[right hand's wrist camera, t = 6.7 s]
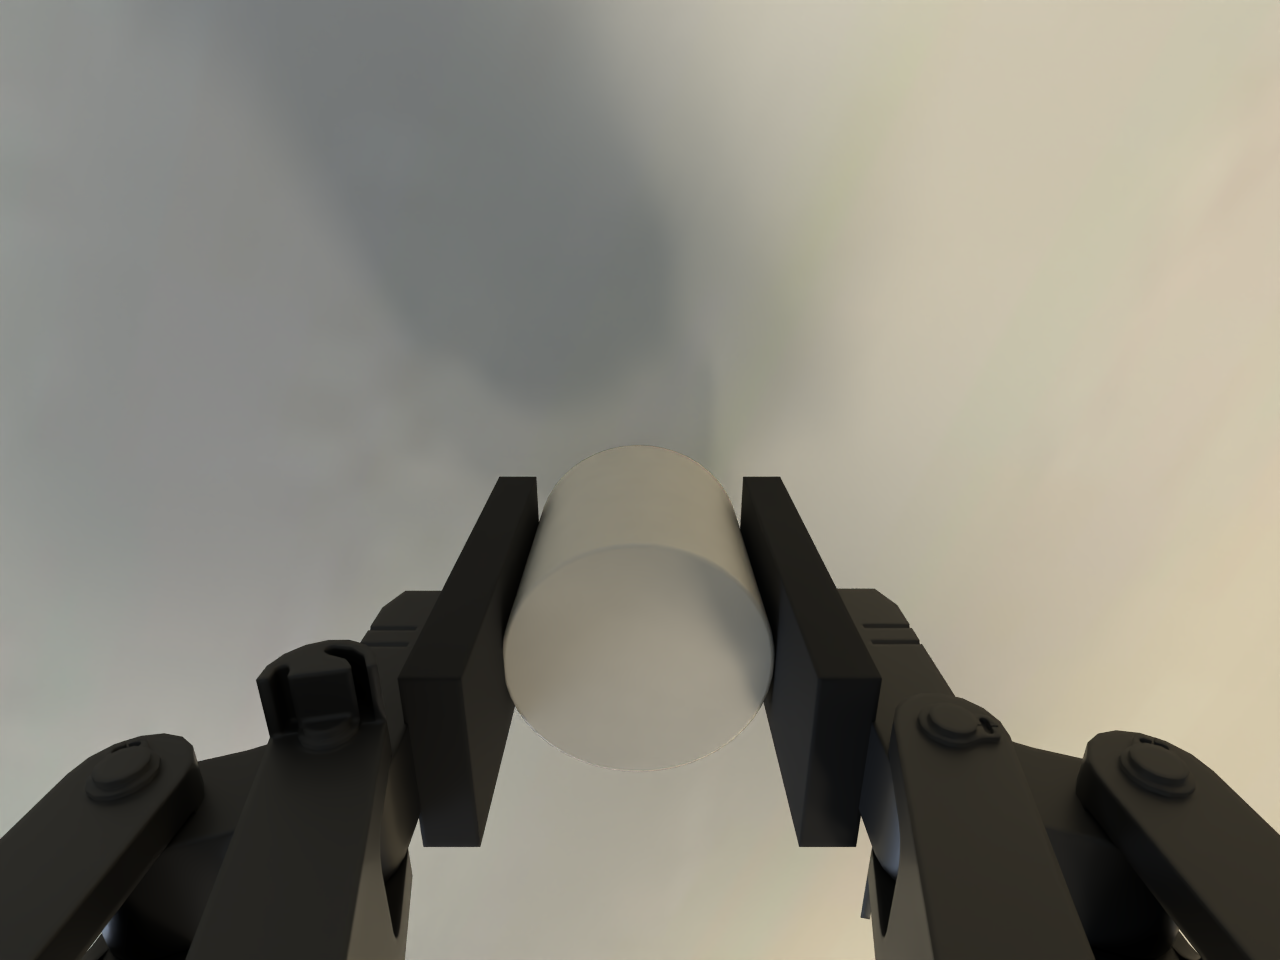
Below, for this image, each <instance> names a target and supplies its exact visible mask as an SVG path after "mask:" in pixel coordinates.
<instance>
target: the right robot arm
mask: <svg viewBox="0 0 1280 960" xmlns="http://www.w3.org/2000/svg"><path fill="white" fill-rule="evenodd" d="M538 524H539V515H538V498H537V481H536V477H499V479H498V481H497V483H496V485H495V487H494V489H493V491H492V493H491V495H490V497H489V498H488V500H487V502H486V504H485V506H484V508H483V510H482V512H481V514H480V516H479V518H478V520H477V522H476V524H475V526H474V528H473V530H472V532H471V534H470V536H469V538H468V540H467V542H466V544H465V546H464V548H463V550H462V552H461V554H460V556H459V558H458V560H457V562H456V564H455V566H454V568H453V570H452V571H451V573H450V575H449V577H448V579H447V581H446V583H445V585H444V587H443V589H442V591H405V592H403V593H402V594H400V595H399V596H398V597H396V598H395V599H394V600H392V601H391V602H389V603H388V604H387V605H385V606H384V607H383V608H382V609H381V611H380V612H379V614H378V616H377V617H376V619H375V620H374V622H373V623H372V625H371V629H370V630H368V631H367V633H366V635H365V636H364V638H363V639H362V641H361V642H360V643H359V642H355V641H351V640H327V641H322V642H317V643H313V644H308V645H305V646H302V647H300V648H297V649H295V650H293V651H290V652H288V653H285V654H284V655H282V656H281V657H279V658H278V659H276V660H275V661H274V662H272V663H271V664H269V665H268V666H267V667H266V668H265V669H264V670H263V672H262V673H261V674H260V676H259V677H258V678H257V679H256V682H257V686H258V690H259V694H260V698H261V702H262V706H263V710H264V714H265V719H266V723H267V727H268V731H269V735H270V739H269V741H268V744H267V745H264V746H261V747H257V748H254V749H251V750H247V751H243V752H238V753H234V754H230V755H225V756H221V757H216V758H212V759H207V760H203V761H198V762H197V759H196V755H195V752H194V749H193V746H192V745H191V744H190V743H189V742H188V741H187V740H186V739H184V738H183V737H181V736H176V735H170V734H165V733H163V734H154V735H145V736H139V737H136V738H133V739H129V740H127V741H123V742H120V743H117V744H114V745H112V746H110V747H108V748H106V749H104V750H102V751H101V752H99V753H97V754H95V755H93V756H91V757H89V758H88V759H86V760H85V761H84V762H82V763H81V764H80V765H78V766H77V767H76V768H75V769H73V770H72V771H71V772H69V773H68V774H67V775H66V776H65V777H64V778H63V779H62V780H61V781H60V782H59V783H58V784H57V785H56V786H55V787H54V788H52V789H51V790H50V791H49V792H48V793H47V794H46V795H45V796H44V797H43V798H42V799H41V800H40V801H39V802H38V803H37V804H36V805H35V806H34V807H33V808H32V809H31V810H30V811H29V812H28V813H27V814H26V815H25V816H24V817H23V818H22V819H21V820H20V821H19V822H17V823H16V824H15V825H14V826H13V827H12V828H11V829H10V830H9V831H8V832H7V833H6V834H5V835H4V836H3V837H2V838H1V839H0V960H405V951H406V940H407V929H408V918H409V907H410V897H411V886H412V870H411V863H410V857H409V851H408V846H409V844H410V841H411V838H412V835H413V832H414V830H415V827H416V824H417V821H418V819H419V821H420V828H421V834H422V841H423V847H480V846H481V842H482V838H483V834H484V830H485V825H486V821H487V817H488V813H489V809H490V805H491V801H492V797H493V793H494V789H495V785H496V781H497V777H498V773H499V769H500V765H501V761H502V756H503V752H504V748H505V744H506V740H507V736H508V732H509V728H510V724H511V720H512V716H513V712H514V708H515V704H514V703H513V701H512V699H511V697H510V694H509V691H508V688H507V686H506V682H505V672H504V660H503V637H504V633H505V630H506V626H507V623H508V619H509V616H510V613H511V610H512V607H513V604H514V600H515V597H516V594H517V591H518V588H519V585H520V581H521V578H522V575H523V572H524V569H525V566H526V562H527V559H528V556H529V553H530V550H531V547H532V543H533V540H534V537H535V534H536V531H537V528H538ZM740 531H741V534H742V537H743V540H744V544H745V547H746V550H747V553H748V557H749V560H750V563H751V566H752V569H753V573H754V576H755V579H756V582H757V586H758V589H759V592H760V595H761V598H762V602H763V605H764V608H765V611H766V615H767V618H768V621H769V624H770V627H771V631H772V636H773V641H774V651H775V663H774V671H773V677H772V680H771V684H770V687H769V690H768V693H767V695H766V697H765V699H764V706H765V710H766V714H767V718H768V722H769V726H770V730H771V734H772V738H773V742H774V746H775V750H776V754H777V758H778V762H779V767H780V771H781V775H782V779H783V783H784V787H785V791H786V795H787V799H788V803H789V807H790V811H791V815H792V819H793V823H794V827H795V831H796V836H797V840H798V844H799V847H856V844H857V837H858V831H859V825H860V818H861V817H862V819H863V822H864V825H865V828H866V830H867V833H868V836H869V839H870V842H871V844H872V851H871V857H870V863H869V869H868V875H867V881H866V887H865V893H864V899H863V905H862V912H861V918H865V919H870V915H871V917H872V927H873V938H874V949H875V960H1280V835H1279V834H1278V833H1277V832H1276V831H1275V830H1274V829H1273V828H1272V827H1271V826H1270V825H1269V824H1268V823H1267V822H1266V821H1265V820H1264V819H1263V818H1262V817H1260V816H1259V815H1258V814H1257V813H1256V812H1255V811H1254V810H1253V809H1252V808H1251V807H1250V806H1249V805H1248V804H1247V803H1246V802H1245V801H1244V800H1243V799H1242V798H1241V797H1240V796H1239V795H1238V794H1237V793H1236V792H1235V791H1234V790H1232V789H1231V788H1230V787H1229V786H1228V785H1227V784H1226V783H1225V782H1224V781H1223V780H1222V779H1221V778H1220V777H1219V776H1218V775H1217V774H1216V773H1215V772H1214V771H1213V770H1211V769H1210V768H1209V767H1207V766H1206V765H1205V764H1204V763H1202V762H1201V761H1200V760H1198V759H1197V758H1196V757H1194V756H1193V755H1192V754H1190V753H1188V752H1186V751H1184V750H1182V749H1180V748H1178V747H1176V746H1174V745H1172V744H1170V743H1168V742H1166V741H1163V740H1160V739H1158V738H1154V737H1151V736H1148V735H1144V734H1141V733H1135V732H1126V731H1117V730H1116V731H1110V732H1105V733H1099V734H1097V735H1096V736H1095V737H1094V738H1092V739H1091V740H1090V741H1089V742H1088V743H1087V747H1086V750H1085V753H1084V757H1083V759H1081V758H1077V757H1072V756H1068V755H1063V754H1059V753H1054V752H1050V751H1045V750H1041V749H1036V748H1032V747H1029V746H1025V745H1022V744H1018V743H1015V742H1013V741H1012V740H1011V738H1010V736H1009V734H1008V733H1007V731H1006V730H1005V728H1004V727H1003V725H1002V724H1001V722H1000V721H999V720H998V719H996V718H995V717H994V716H993V715H991V714H990V713H989V712H987V711H986V710H985V709H984V708H982V707H980V706H978V705H975V704H973V703H971V702H969V701H967V700H965V699H963V698H958V697H955V695H954V694H953V692H952V691H951V689H950V687H949V686H948V684H947V683H946V681H945V680H944V678H943V676H942V675H941V673H940V672H939V670H938V669H937V667H936V665H935V664H934V662H933V661H932V659H931V658H930V656H929V654H928V653H927V651H926V650H925V648H924V647H923V645H922V644H920V643H919V639H918V637H917V636H916V634H915V632H914V631H913V629H912V628H910V627H909V623H908V621H907V620H906V618H905V617H904V615H903V614H902V612H901V610H900V609H899V607H898V606H897V605H896V604H895V603H893V602H892V601H891V600H889V599H888V598H887V597H885V596H884V595H882V594H881V593H880V592H878V591H877V590H876V589H837V588H836V586H835V584H834V582H833V580H832V578H831V576H830V574H829V573H828V571H827V569H826V567H825V565H824V563H823V561H822V559H821V557H820V555H819V553H818V551H817V549H816V547H815V545H814V543H813V541H812V539H811V537H810V535H809V533H808V531H807V529H806V527H805V525H804V523H803V521H802V519H801V517H800V515H799V513H798V511H797V509H796V507H795V505H794V503H793V501H792V499H791V498H790V496H789V494H788V492H787V490H786V488H785V486H784V484H783V482H782V480H781V478H780V477H743V490H742V507H741V524H740ZM1179 929H1180V930H1181V932H1182V933H1183V934H1184V936H1185V937H1186V938H1187V940H1188V941H1189V942H1190V943H1191V945H1192V946H1193V947H1194V949H1195V950H1196V951H1197V952H1196V951H1195V950H1194V949H1193V948H1192V947H1191V946H1190V945H1189V944H1188V942H1187V941H1186V940H1185V938H1184V937H1183V936H1182V934H1181V933H1180V932H1179ZM101 932H102V934H101V935H100V933H101ZM99 935H100V936H99ZM98 936H99V938H98V939H97V937H98ZM96 939H97V940H96ZM95 940H96V942H95V943H94V944H93V942H94V941H95ZM92 944H93V946H92V947H91V948H90V946H91V945H92ZM89 948H90V949H89ZM88 949H89V950H88ZM87 950H88V951H87Z"/></svg>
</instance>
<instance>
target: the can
mask: <svg viewBox="0 0 1280 960" xmlns="http://www.w3.org/2000/svg"><path fill="white" fill-rule="evenodd" d="M503 660H504V672H505V682H506V686H507V688H508V691H509V694H510V697H511V699H512V701H513V703H514V704H515V706H516V708H517V710H518V712H519V713H520V714H521V716H522V717H523V718H524V720H525V721H526V723H527V724H528V725H529V726H530V727H531V728H532V729H533V730H534V731H535V732H536V733H537V734H538V735H539V736H540V737H541V738H543V739H544V740H545V741H546V742H548V743H549V744H550V745H552V746H553V747H555V748H556V749H558V750H560V751H561V752H563V753H565V754H567V755H569V756H571V757H573V758H575V759H577V760H580V761H583V762H585V763H588V764H591V765H594V766H598V767H603V768H607V769H612V770H620V771H636V772H644V771H658V770H664V769H669V768H675V767H678V766H682V765H685V764H689V763H692V762H694V761H697V760H699V759H701V758H704V757H706V756H708V755H710V754H712V753H713V752H715V751H717V750H719V749H720V748H722V747H723V746H725V745H726V744H727V743H729V742H730V741H732V740H733V739H734V738H735V737H736V736H737V735H738V734H740V733H741V732H742V731H743V730H744V729H745V728H746V726H747V725H748V724H749V723H750V722H751V721H752V719H753V718H754V717H755V715H756V714H757V712H758V710H759V709H760V707H761V706H762V704H763V702H764V699H765V697H766V695H767V693H768V690H769V687H770V684H771V680H772V677H773V671H774V663H775V651H774V641H773V636H772V631H771V627H770V624H769V621H768V618H767V615H766V611H765V608H764V605H763V602H762V598H761V595H760V592H759V589H758V586H757V582H756V579H755V576H754V573H753V569H752V566H751V563H750V560H749V557H748V553H747V550H746V547H745V544H744V540H743V537H742V534H741V531H740V528H739V524H738V521H737V518H736V515H735V512H734V509H733V506H732V503H731V501H730V499H729V497H728V495H727V493H726V491H725V490H724V489H723V487H722V486H721V484H720V483H719V482H718V480H717V479H716V478H715V477H714V476H713V475H712V474H711V473H710V472H709V471H708V470H706V469H705V468H704V467H703V466H701V465H700V464H699V463H697V462H695V461H694V460H692V459H690V458H689V457H687V456H684V455H682V454H680V453H678V452H675V451H672V450H668V449H665V448H660V447H654V446H643V445H633V446H622V447H617V448H612V449H608V450H605V451H603V452H600V453H597V454H595V455H593V456H591V457H589V458H587V459H585V460H583V461H582V462H580V463H579V464H577V465H576V466H574V467H573V468H572V469H571V470H570V471H568V472H567V473H566V474H565V475H564V476H563V477H562V478H561V480H560V481H559V482H558V483H557V484H556V485H555V487H554V489H553V490H552V492H551V493H550V495H549V497H548V499H547V501H546V504H545V506H544V509H543V512H542V515H541V518H540V521H539V524H538V528H537V531H536V534H535V537H534V540H533V543H532V547H531V550H530V553H529V556H528V559H527V562H526V566H525V569H524V572H523V575H522V578H521V581H520V585H519V588H518V591H517V594H516V597H515V600H514V604H513V607H512V610H511V613H510V616H509V619H508V623H507V626H506V630H505V633H504V637H503Z"/></svg>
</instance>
